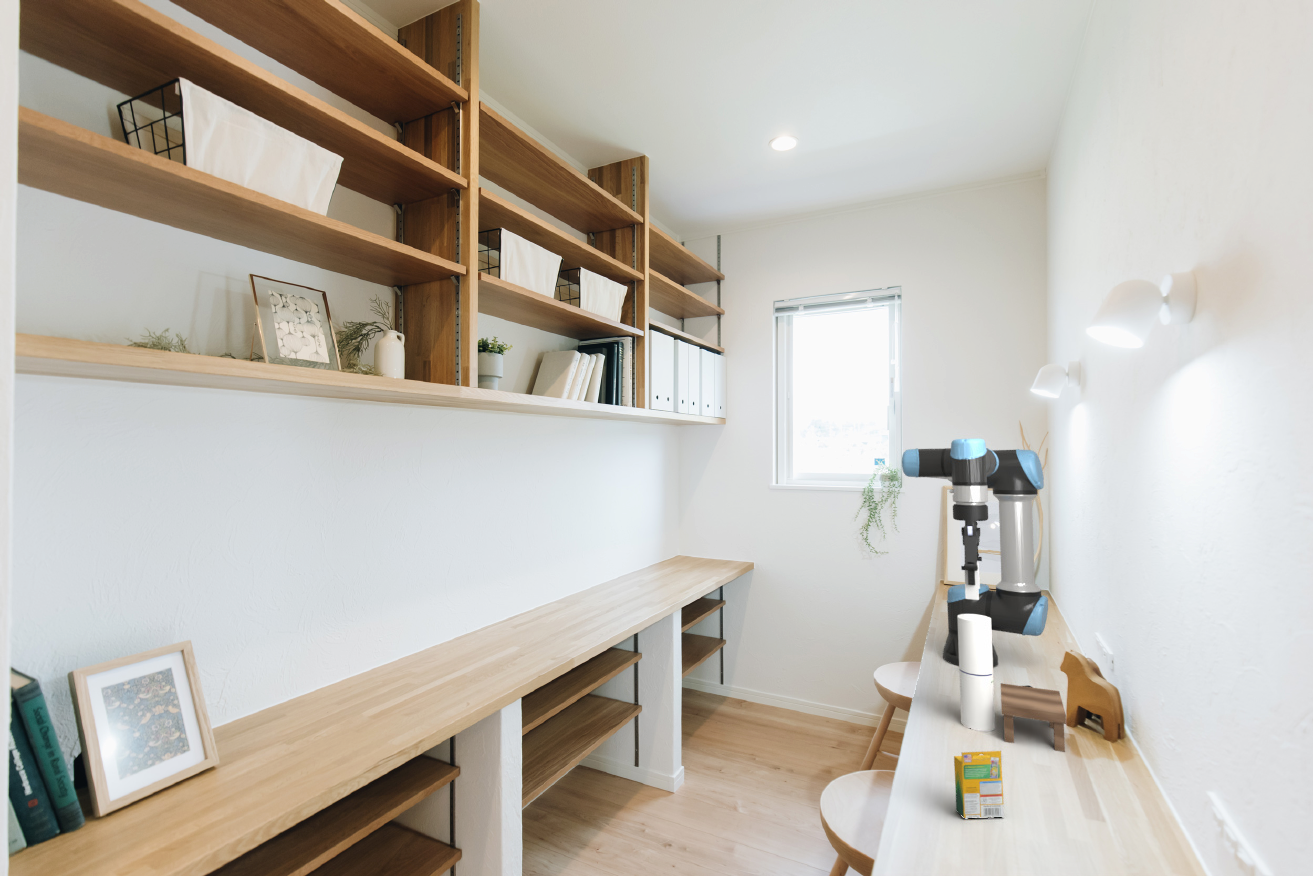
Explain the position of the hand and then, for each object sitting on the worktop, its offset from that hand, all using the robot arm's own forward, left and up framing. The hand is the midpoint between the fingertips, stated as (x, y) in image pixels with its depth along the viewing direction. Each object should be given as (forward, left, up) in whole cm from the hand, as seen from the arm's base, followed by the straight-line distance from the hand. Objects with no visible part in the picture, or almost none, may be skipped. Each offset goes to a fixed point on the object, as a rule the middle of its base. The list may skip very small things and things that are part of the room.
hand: (973, 593), depth 148 cm
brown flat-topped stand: (0, +11, -31) cm, 33 cm away
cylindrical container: (0, 0, -31) cm, 31 cm away
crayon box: (+41, +1, -31) cm, 51 cm away
